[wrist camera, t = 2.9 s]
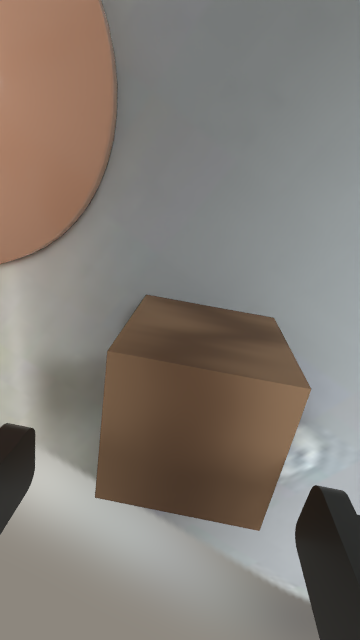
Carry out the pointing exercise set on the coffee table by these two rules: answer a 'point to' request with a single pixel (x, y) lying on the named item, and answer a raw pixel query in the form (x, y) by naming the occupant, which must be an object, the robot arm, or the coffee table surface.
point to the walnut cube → (198, 412)
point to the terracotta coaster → (52, 117)
